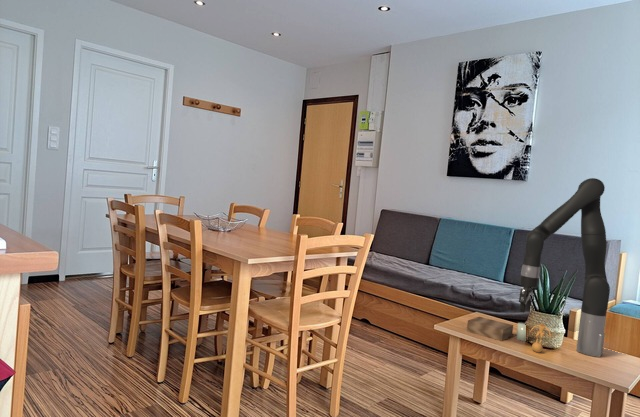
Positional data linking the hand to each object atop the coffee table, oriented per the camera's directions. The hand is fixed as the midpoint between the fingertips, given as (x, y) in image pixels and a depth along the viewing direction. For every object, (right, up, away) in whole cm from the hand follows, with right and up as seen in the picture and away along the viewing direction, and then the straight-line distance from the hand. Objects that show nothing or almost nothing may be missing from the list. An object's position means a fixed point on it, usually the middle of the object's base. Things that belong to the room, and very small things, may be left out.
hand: (525, 311), depth 203 cm
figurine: (-2, -13, -16) cm, 21 cm away
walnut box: (-14, -11, +5) cm, 19 cm away
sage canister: (-1, -13, 0) cm, 13 cm away
